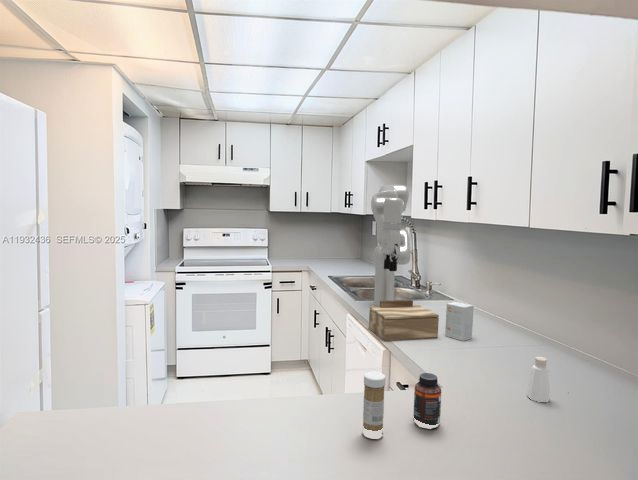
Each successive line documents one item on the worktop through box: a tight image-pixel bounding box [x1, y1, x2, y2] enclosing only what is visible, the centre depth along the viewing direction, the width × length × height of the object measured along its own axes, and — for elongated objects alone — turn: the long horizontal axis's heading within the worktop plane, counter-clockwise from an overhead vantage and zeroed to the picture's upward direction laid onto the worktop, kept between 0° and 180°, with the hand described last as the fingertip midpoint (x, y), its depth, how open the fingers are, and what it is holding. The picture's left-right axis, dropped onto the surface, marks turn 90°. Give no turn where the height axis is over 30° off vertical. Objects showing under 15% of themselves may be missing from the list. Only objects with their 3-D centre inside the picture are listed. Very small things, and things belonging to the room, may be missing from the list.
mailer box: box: [368, 308, 440, 342], centre depth 163 cm, size 16×22×8 cm
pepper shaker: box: [526, 356, 551, 403], centre depth 109 cm, size 5×5×11 cm
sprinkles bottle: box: [362, 371, 386, 431], centre depth 89 cm, size 5×5×13 cm
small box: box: [444, 301, 474, 342], centre depth 160 cm, size 8×6×13 cm
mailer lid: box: [369, 299, 440, 319], centre depth 163 cm, size 16×22×3 cm
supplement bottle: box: [413, 372, 442, 425], centre depth 94 cm, size 6×6×11 cm
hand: (390, 269), depth 175 cm, fingers open, 4 cm apart
